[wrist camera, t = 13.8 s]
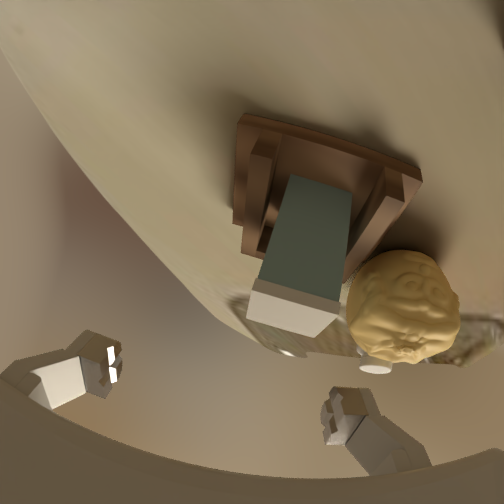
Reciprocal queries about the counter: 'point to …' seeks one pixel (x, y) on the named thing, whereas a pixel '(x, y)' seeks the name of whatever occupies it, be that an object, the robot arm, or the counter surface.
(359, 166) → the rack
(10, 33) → the counter surface
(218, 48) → the counter surface
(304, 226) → the tin
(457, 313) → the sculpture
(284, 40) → the counter surface
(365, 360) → the supplement bottle
